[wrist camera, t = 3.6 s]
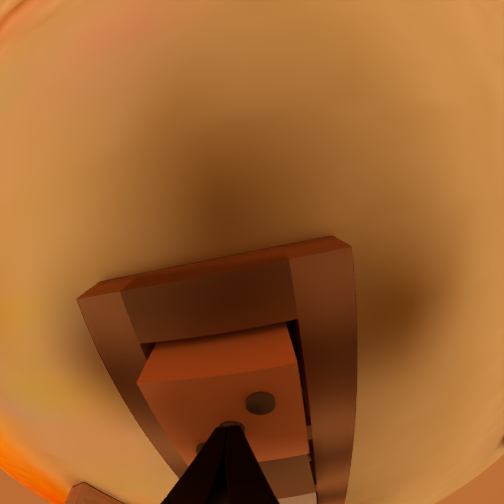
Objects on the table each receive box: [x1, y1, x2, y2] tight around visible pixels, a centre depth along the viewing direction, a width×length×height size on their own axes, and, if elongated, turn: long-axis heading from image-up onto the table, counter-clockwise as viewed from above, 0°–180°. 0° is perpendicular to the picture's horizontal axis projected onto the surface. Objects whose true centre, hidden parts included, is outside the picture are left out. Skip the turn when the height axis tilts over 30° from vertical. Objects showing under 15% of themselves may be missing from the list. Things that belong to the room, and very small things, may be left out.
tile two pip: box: [258, 454, 317, 504], centre depth 10 cm, size 5×5×3 cm
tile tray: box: [76, 236, 357, 504], centre depth 12 cm, size 24×10×2 cm, turn 11°
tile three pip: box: [136, 322, 309, 466], centre depth 9 cm, size 5×5×3 cm
